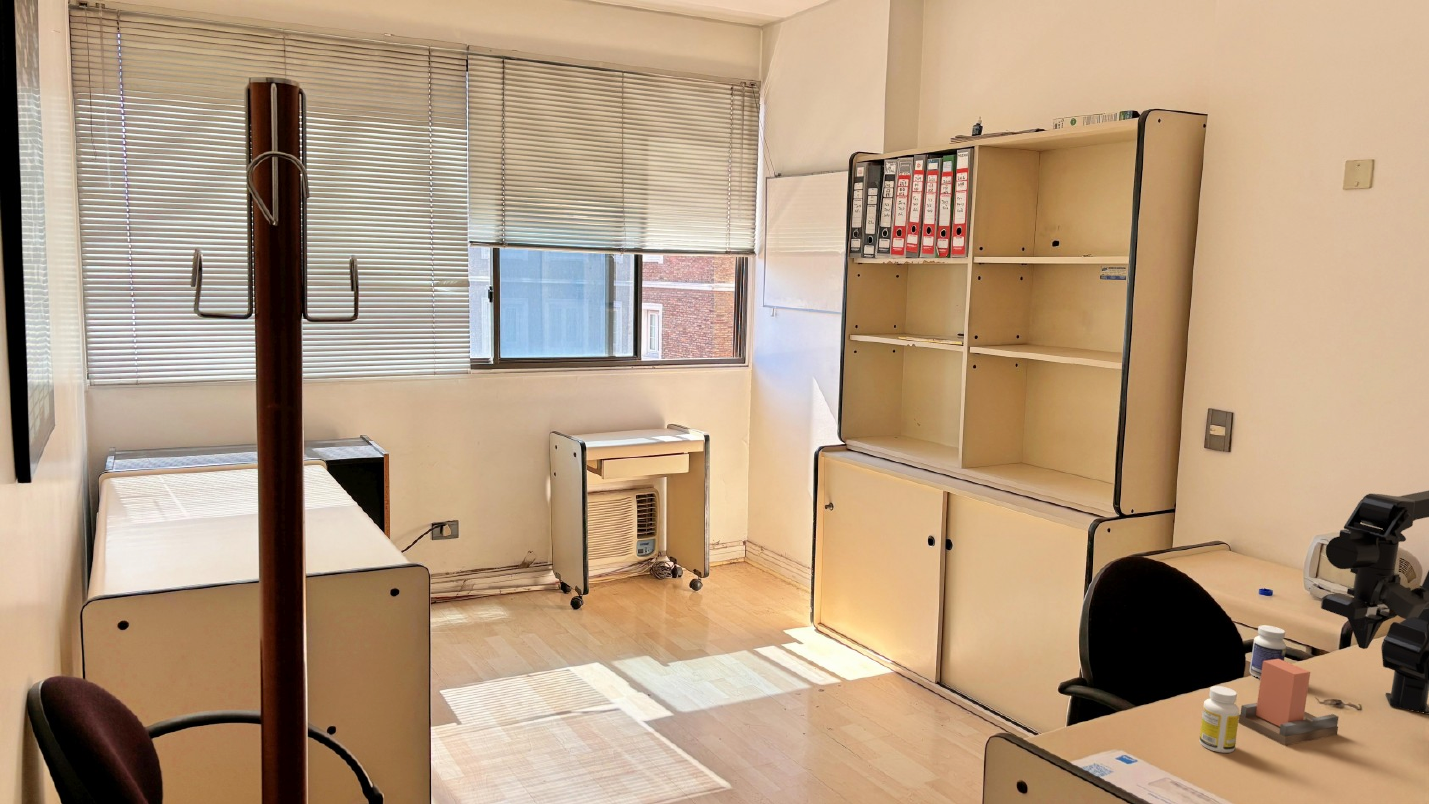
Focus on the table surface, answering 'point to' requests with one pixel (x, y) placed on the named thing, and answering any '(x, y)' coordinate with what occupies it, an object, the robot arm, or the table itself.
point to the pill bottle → (1267, 648)
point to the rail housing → (1289, 726)
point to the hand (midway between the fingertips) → (1362, 648)
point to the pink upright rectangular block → (1282, 692)
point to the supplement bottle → (1220, 720)
